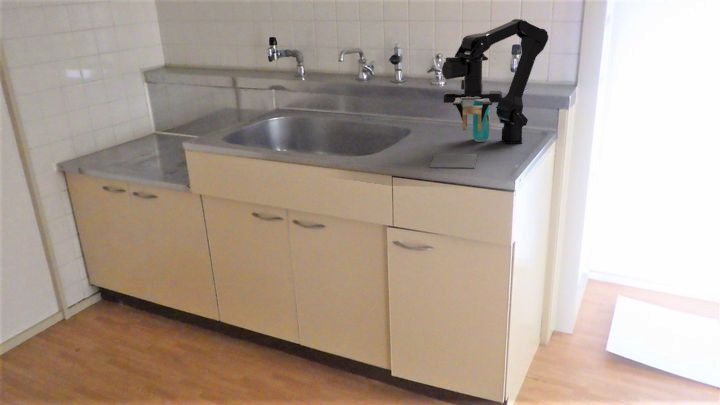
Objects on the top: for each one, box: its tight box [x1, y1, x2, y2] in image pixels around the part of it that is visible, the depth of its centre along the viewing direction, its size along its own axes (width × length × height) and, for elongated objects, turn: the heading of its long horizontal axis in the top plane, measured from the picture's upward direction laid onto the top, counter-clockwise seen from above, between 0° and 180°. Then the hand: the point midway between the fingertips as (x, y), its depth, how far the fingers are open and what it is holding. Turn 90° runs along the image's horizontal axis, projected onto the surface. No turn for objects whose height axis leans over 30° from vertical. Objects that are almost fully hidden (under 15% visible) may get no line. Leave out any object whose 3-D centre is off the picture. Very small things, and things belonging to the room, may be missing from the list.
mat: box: [429, 152, 478, 170], centre depth 194 cm, size 14×14×1 cm
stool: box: [462, 105, 482, 132], centre depth 201 cm, size 6×6×7 cm
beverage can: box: [472, 99, 491, 143], centre depth 212 cm, size 6×6×15 cm
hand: (472, 122), depth 201 cm, fingers closed on stool, 5 cm apart
